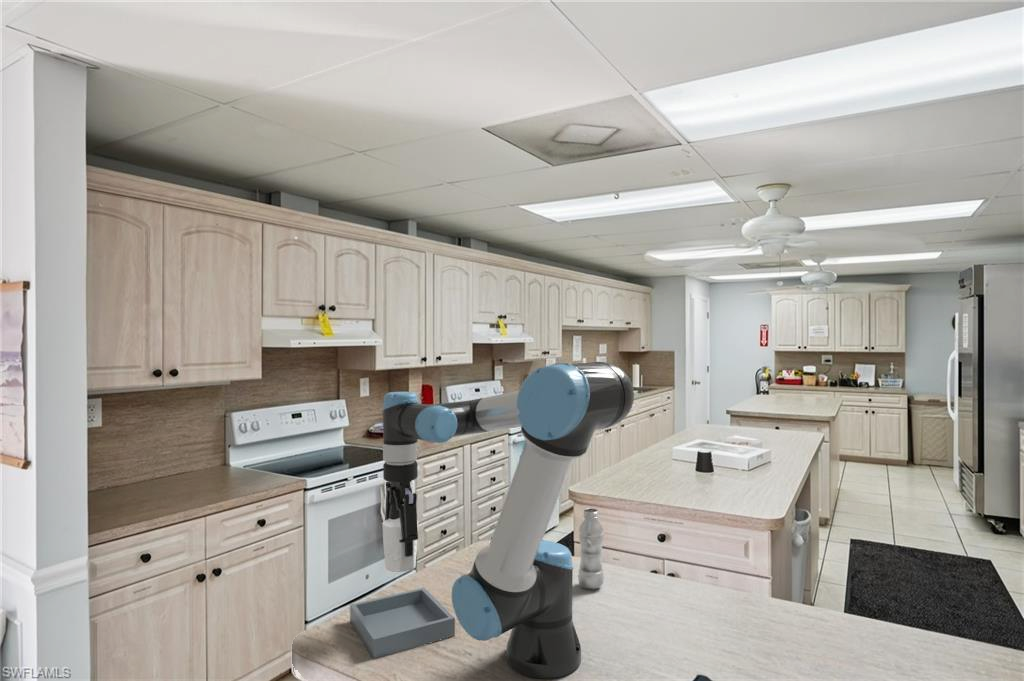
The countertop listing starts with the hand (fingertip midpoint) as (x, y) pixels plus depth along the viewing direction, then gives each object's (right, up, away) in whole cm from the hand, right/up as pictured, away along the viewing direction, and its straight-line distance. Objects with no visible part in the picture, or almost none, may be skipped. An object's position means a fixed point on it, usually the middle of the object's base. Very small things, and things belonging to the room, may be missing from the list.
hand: (400, 563), depth 132 cm
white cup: (0, -1, 0) cm, 1 cm away
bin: (0, -15, 0) cm, 15 cm away
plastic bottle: (+45, -15, +22) cm, 52 cm away
